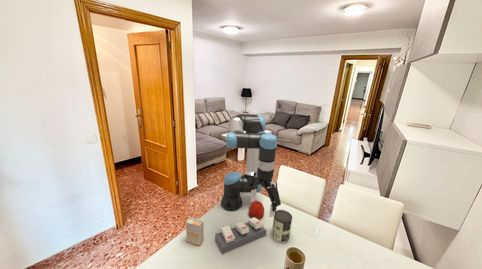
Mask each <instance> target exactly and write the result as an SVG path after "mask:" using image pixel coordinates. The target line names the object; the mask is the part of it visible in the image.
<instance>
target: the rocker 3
mask: <svg viewBox="0 0 482 269" xmlns="http://www.w3.org/2000/svg"><path fill="white" fill-rule="evenodd" d="M247 222H248V223H249V224H250V225H251V226H253V227H254V228H255V229H258V228H260V227H262V224H263V222H262V221H260V219H256V218H255V217H254V218H252V217H250V218H248V219H247Z"/></svg>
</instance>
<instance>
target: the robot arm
mask: <svg viewBox="0 0 482 269" xmlns="http://www.w3.org/2000/svg"><path fill="white" fill-rule="evenodd" d="M228 129H229V132H227V133H226V142H225V143H226V148H228V149H246V150H247V151H246V170H245V171H244V173H243V175H242V174H241V172H238V171H230V172H228V173H226V174H225V175H224V177H223V195H222V197H221V200H220V206H221V208H222V209H224V210H226V211H228V212H229V211H231V212H235V211H238V210H239V209H241V208H242V207H243V200H242V196H241V194H242V193H247V194H248V193H250V202H251V203H252V202H254V201H257V200H256V199H257V194H258V193H260V192H261V191H262V189H264V190H265V191H266V193H267V194H268V197H269V199H270V202H271V203H270V206H269V216H268V217H269V218H272V217H274V215H275V211H277V210H278V209H277V208H278V207H279V206H281V205H282V202H281V198H280V194H279V189H278V183H277V182H273V178H274V170H275V163H276V152H277V146H278V138H277V136H276V135H274V134H270V133H267V132H265V131H266V121H265V117H264V116H263V114H249V113H248V114H246V113H239V114H236V115H234V116H232V117H231V118H230V119H229V121H228Z"/></svg>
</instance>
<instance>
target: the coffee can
mask: <svg viewBox="0 0 482 269" xmlns="http://www.w3.org/2000/svg"><path fill="white" fill-rule="evenodd" d="M272 221H273V222H272V230H271V237H272V239H273V240H274V241H275V242H277V243H280V244H287V242H289V241H290V236H291V228H292V223H293V222H292V221H293V215H292V213H290V212H289V211H288V210H285V209H276V211H275V215H274V216H273V220H272Z"/></svg>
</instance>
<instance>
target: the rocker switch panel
mask: <svg viewBox="0 0 482 269" xmlns="http://www.w3.org/2000/svg"><path fill="white" fill-rule="evenodd" d="M243 223H244V222H243ZM244 224H245V225H246V226H247V227H248V228H249V232H248V233H245V234H241V233H240V232H239V231H238V230H237V229H236V228H235V226H234V227H230V229H231V231H232V233H233V235H234V237H235V239H234V241H232V242H229V243H226V241H225V239H224V236H223V234H222V232H221V231H219V232H217V233H215V234H214V240H215V242H216V244H217V246H218V248H219V250H220V252H221V254H222V255H223V254H225V253H228V252H230V251H233V250H234V249H237V248H240V247H242V246H244V245H247V244H249V243H251V242H254V241H256V240H258V239H261V238H265V237H267V234H268V229H267V228H266V226H265V225H264V224H263V223H262V227H260V228H258V229H255V228H254V227H253V226H251V225H250V224H249V223H248V221H247V222H245V223H244Z"/></svg>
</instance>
